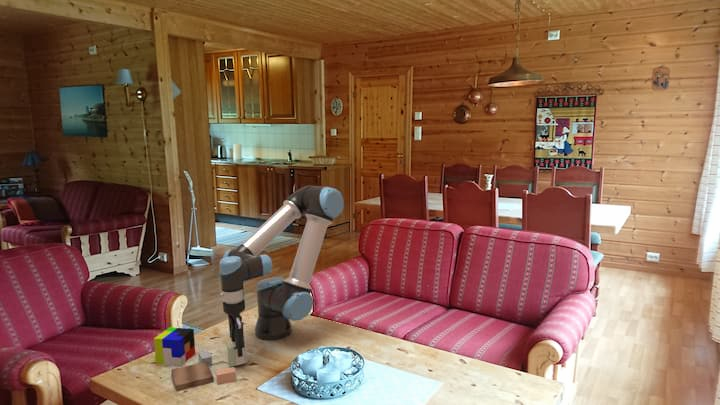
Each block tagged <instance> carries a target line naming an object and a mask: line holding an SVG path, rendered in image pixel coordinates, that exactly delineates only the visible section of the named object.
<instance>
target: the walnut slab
mask: <svg viewBox="0 0 720 405" xmlns="http://www.w3.org/2000/svg"><path fill="white" fill-rule="evenodd" d="M170 370H171V378H172V381H173V384H174V388H175V391H176V392H179V391H182V390H188V389H192V388H194V387H198V386H202V385H206V384H210V383H214V375H213V373H212V370H211V368H210V366H209V365H208V363H207V361H206V362H202V363H200V362H199V363H198V362H197V363H193V364H189V365H184V366H179V367H176V368H173V369H170Z"/></svg>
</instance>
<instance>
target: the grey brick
mask: <svg viewBox="0 0 720 405" xmlns="http://www.w3.org/2000/svg"><path fill="white" fill-rule="evenodd" d="M197 354H198V362H199V363H202V362H206V361H207V363H208V365H209V367H211V366H213V356H212V354H211V352H210V351H209V350H208V349H206V350H202V351H199V352H197Z"/></svg>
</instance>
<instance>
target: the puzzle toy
mask: <svg viewBox="0 0 720 405" xmlns="http://www.w3.org/2000/svg"><path fill="white" fill-rule="evenodd" d="M153 345H154V355H155V357H154V358H155V365H161V364H162V365H163V366H171V365H172V366H174V367H183V365H184V364H185V363H187V362H188V361H189V360H190V359H191V358H192V357H193V356H194V355H195V354H196V343H195V331H194V329H193V328H186V327H185V328H184V327H173V326H172V327H171V326H170V327H167V329H165V330H164V331H163V332H161V333H159V334H158V335H157V336H155V337H154V338H153ZM189 358H190V359H189ZM188 359H189V360H188ZM187 360H188V361H187ZM172 366H171V367H172Z"/></svg>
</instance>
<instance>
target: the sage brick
mask: <svg viewBox="0 0 720 405" xmlns="http://www.w3.org/2000/svg"><path fill="white" fill-rule="evenodd" d="M244 345H245V347H244V348H243V352H244V364H248V347H247V343H246V342H245V341H244ZM226 346H227V347H226V348H227V349H226V350H227V361H228V364H229V366H230V368H232V367H236V366H238V365H236V353H235V349H234V347H236V345H235V342H234V343H232V342H231V343H227V344H226Z"/></svg>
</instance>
